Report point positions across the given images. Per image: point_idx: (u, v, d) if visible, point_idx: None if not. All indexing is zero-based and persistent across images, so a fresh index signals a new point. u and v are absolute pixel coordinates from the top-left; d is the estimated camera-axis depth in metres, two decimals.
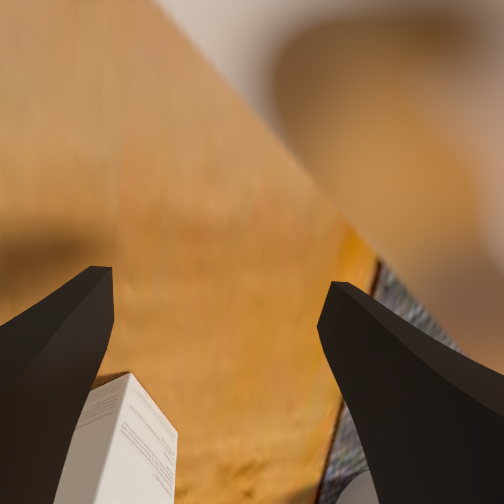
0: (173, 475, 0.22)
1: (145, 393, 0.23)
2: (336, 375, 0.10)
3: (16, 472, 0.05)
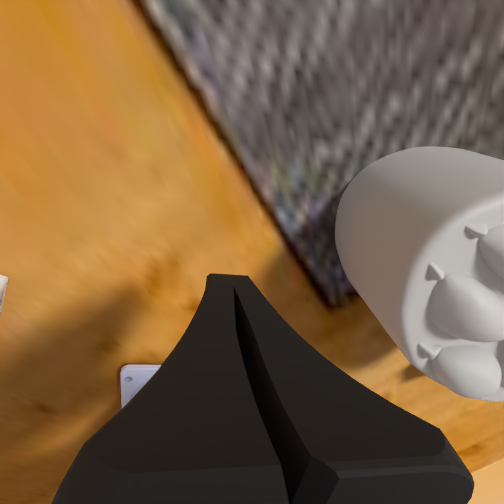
0: None
1: None
2: None
3: None
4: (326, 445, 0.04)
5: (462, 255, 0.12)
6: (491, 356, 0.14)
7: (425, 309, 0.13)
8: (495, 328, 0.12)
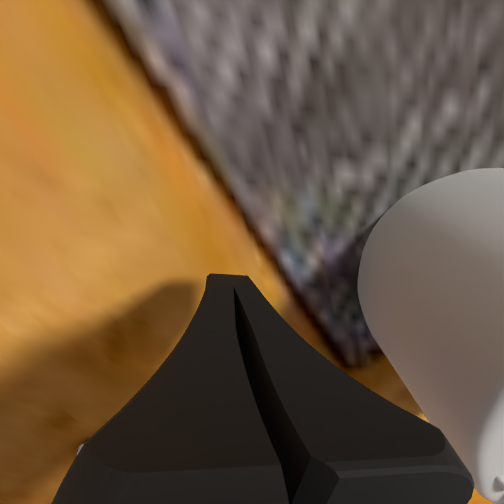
0: None
1: None
2: None
3: None
4: (326, 445, 0.04)
5: None
6: None
7: None
8: None
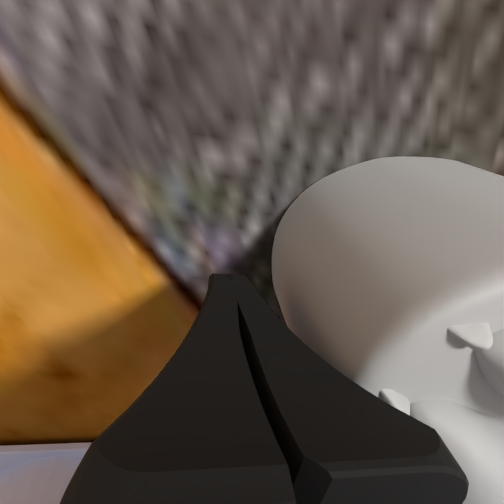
0: None
1: None
2: None
3: None
4: (319, 445, 0.04)
5: (444, 374, 0.06)
6: None
7: None
8: None
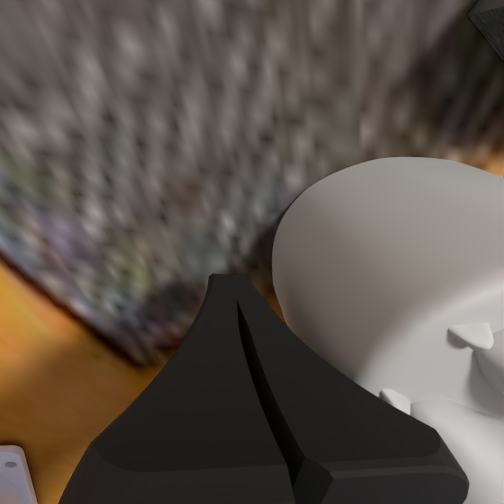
0: None
1: None
2: None
3: None
4: (320, 446, 0.04)
5: (444, 374, 0.06)
6: None
7: None
8: None
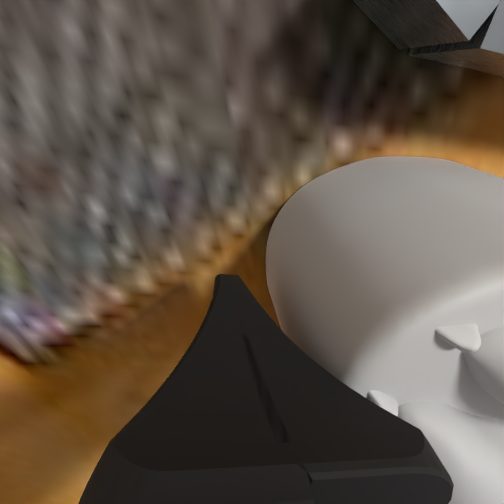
0: None
1: None
2: None
3: None
4: (302, 446, 0.04)
5: (432, 376, 0.06)
6: None
7: None
8: None
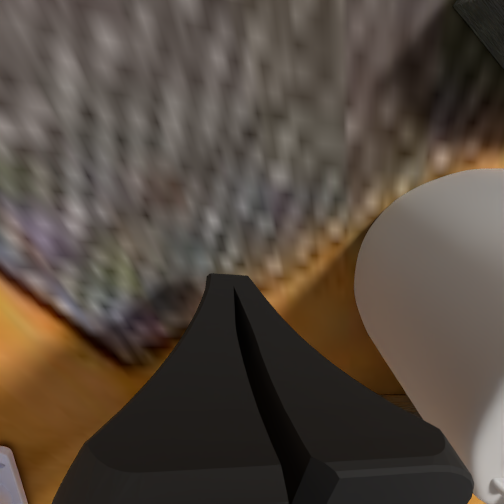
0: None
1: None
2: None
3: None
4: (326, 445, 0.04)
5: None
6: None
7: None
8: None
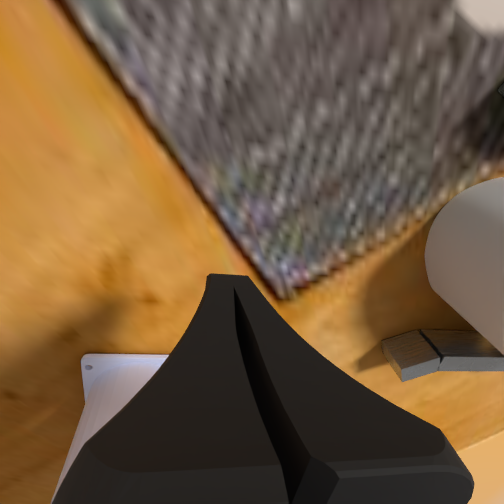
0: None
1: None
2: None
3: None
4: (326, 445, 0.04)
5: None
6: None
7: None
8: None
